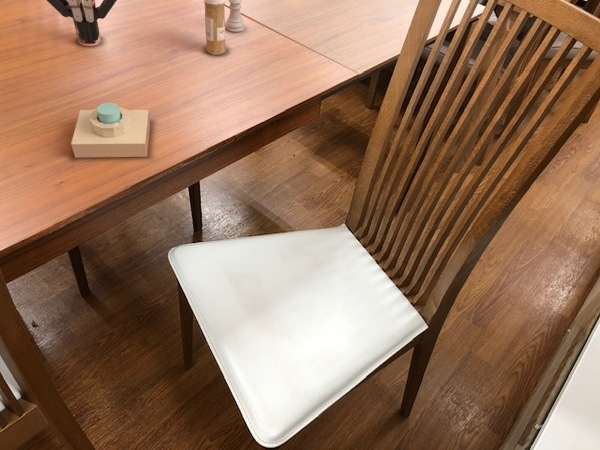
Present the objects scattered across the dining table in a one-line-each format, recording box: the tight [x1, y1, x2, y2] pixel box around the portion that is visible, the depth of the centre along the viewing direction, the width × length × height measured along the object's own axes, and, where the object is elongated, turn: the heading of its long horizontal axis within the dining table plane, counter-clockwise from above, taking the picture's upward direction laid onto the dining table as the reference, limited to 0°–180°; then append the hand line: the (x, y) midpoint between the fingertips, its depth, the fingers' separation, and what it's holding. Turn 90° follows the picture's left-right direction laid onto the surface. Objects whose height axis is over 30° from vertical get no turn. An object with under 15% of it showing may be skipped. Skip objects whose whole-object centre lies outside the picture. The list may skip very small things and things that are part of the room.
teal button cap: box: [96, 102, 121, 124], centre depth 87 cm, size 4×4×2 cm
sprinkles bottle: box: [203, 0, 227, 56], centre depth 112 cm, size 5×5×13 cm
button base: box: [70, 106, 151, 159], centre depth 89 cm, size 12×10×5 cm
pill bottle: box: [72, 0, 101, 47], centre depth 111 cm, size 5×5×8 cm
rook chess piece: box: [225, 0, 245, 33], centre depth 122 cm, size 4×4×8 cm
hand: (90, 41), depth 82 cm, fingers closed
